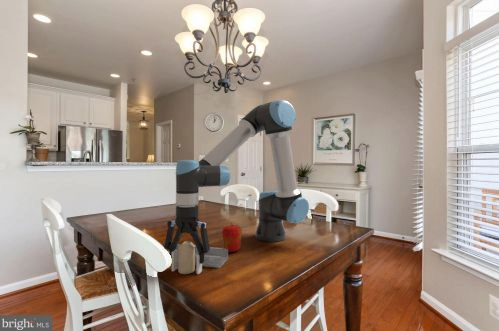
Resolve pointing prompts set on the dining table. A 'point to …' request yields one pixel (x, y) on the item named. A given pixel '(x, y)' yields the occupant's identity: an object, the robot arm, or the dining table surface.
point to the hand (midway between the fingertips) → (186, 270)
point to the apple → (232, 237)
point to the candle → (186, 257)
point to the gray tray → (211, 257)
